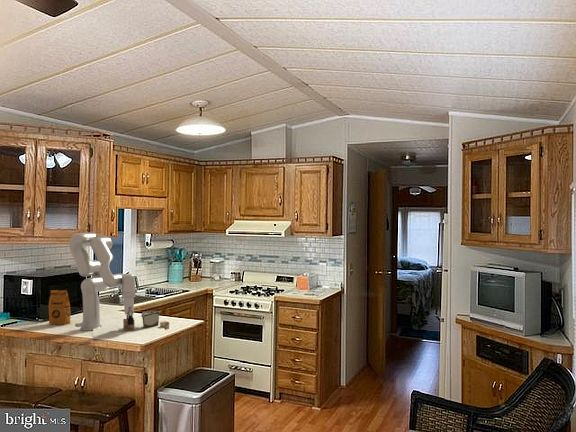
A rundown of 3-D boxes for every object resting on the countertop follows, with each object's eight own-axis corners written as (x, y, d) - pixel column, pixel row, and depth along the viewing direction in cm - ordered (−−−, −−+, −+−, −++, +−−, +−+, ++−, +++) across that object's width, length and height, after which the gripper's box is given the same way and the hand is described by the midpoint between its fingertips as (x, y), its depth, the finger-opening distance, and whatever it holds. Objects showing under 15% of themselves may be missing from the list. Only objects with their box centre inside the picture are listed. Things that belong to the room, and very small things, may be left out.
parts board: (118, 334, 279) (118, 332, 279) (118, 330, 288) (118, 328, 288) (140, 332, 284) (140, 330, 284) (138, 328, 293) (138, 326, 293)
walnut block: (123, 331, 282) (123, 320, 282) (123, 328, 288) (123, 318, 288) (134, 330, 284) (134, 320, 284) (133, 327, 290) (133, 318, 290)
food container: (154, 325, 301) (154, 309, 301) (160, 326, 297) (160, 311, 297) (137, 329, 291) (137, 313, 291) (143, 330, 287) (142, 314, 287)
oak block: (163, 329, 290) (163, 323, 290) (160, 328, 293) (160, 322, 293) (169, 328, 293) (169, 322, 293) (166, 327, 296) (166, 321, 296)
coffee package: (64, 325, 302) (64, 291, 302) (46, 325, 304) (46, 291, 304) (73, 322, 312) (73, 289, 312) (55, 322, 314) (55, 288, 314)
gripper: (121, 293, 292) (122, 321, 292) (123, 297, 276) (124, 326, 276) (134, 292, 295) (135, 319, 295) (136, 296, 279) (137, 325, 279)
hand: (130, 323), depth 286 cm, fingers open, 9 cm apart
